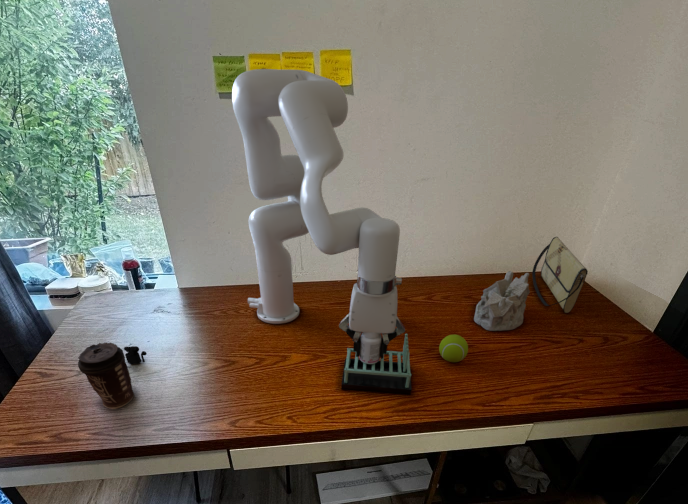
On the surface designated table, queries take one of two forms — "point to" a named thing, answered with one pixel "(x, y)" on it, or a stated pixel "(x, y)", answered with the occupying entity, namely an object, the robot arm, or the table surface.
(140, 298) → the table surface
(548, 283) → the cream handbag
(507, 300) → the grey rock sculpture
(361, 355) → the pill bottle
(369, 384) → the wire rack
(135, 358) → the wireless earbuds
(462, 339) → the tennis ball
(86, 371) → the coffee cup
